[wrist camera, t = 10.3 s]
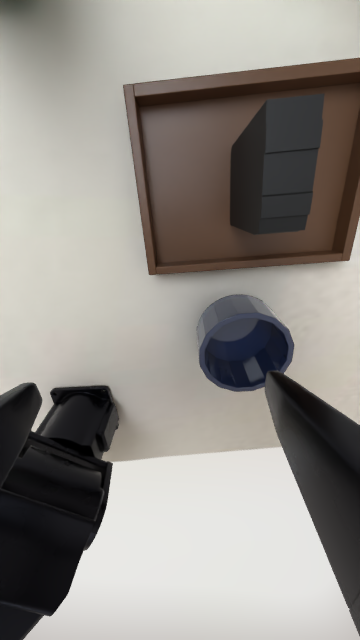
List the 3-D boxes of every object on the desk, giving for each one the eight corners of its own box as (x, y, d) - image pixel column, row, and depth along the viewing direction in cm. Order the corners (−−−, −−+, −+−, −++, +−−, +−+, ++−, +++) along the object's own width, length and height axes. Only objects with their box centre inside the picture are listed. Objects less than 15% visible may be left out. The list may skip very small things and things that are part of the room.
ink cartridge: (259, 223, 18) (309, 233, 11) (229, 225, 18) (259, 236, 11) (264, 144, 16) (332, 89, 9) (230, 147, 16) (269, 96, 9)
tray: (152, 268, 20) (148, 275, 18) (130, 99, 15) (122, 84, 13) (333, 255, 19) (349, 260, 17) (370, 73, 15) (397, 52, 13)
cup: (198, 364, 24) (201, 393, 21) (195, 297, 21) (197, 316, 17) (271, 360, 24) (287, 389, 20) (279, 291, 21) (299, 310, 17)
